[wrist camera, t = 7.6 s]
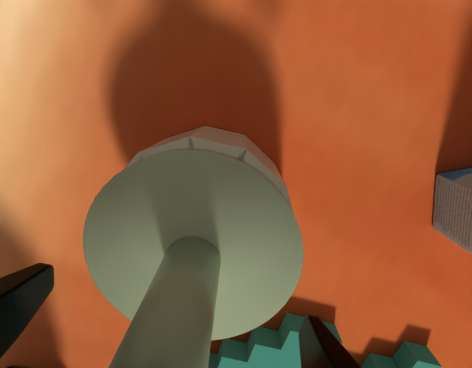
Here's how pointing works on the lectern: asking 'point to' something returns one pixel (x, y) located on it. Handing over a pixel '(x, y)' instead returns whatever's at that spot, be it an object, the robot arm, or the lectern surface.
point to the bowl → (220, 150)
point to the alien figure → (288, 352)
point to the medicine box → (454, 206)
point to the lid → (190, 254)
